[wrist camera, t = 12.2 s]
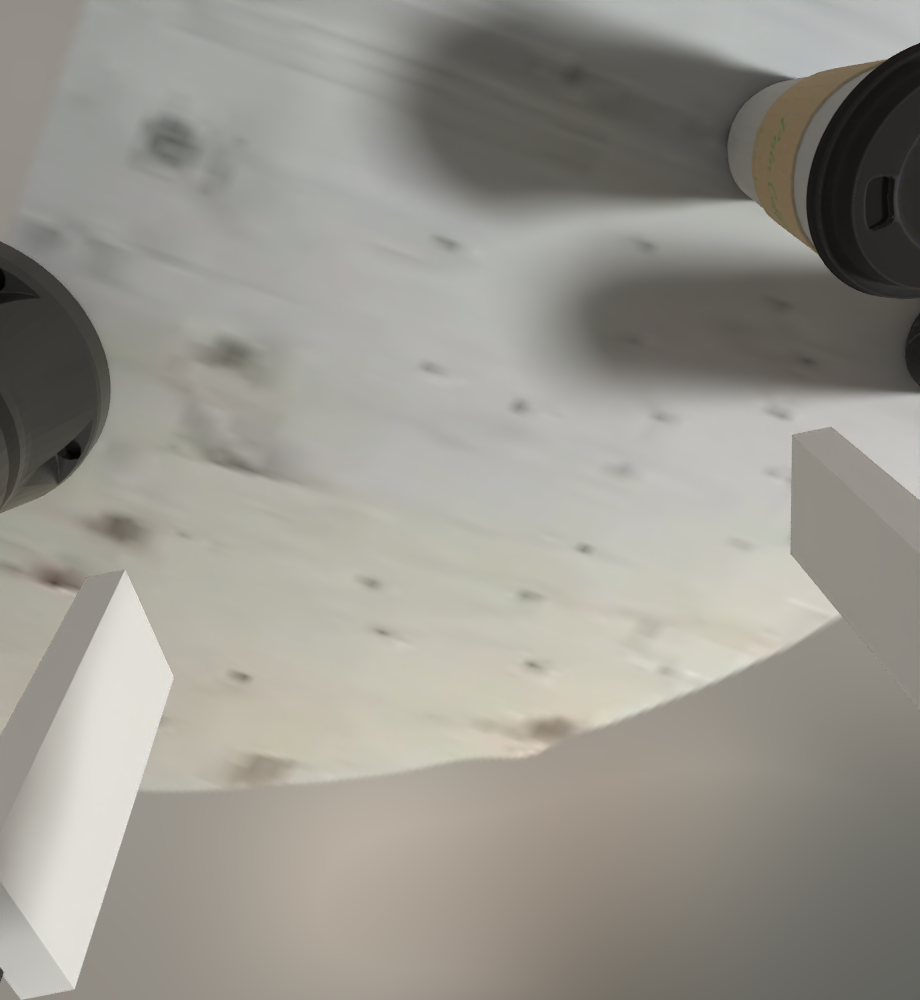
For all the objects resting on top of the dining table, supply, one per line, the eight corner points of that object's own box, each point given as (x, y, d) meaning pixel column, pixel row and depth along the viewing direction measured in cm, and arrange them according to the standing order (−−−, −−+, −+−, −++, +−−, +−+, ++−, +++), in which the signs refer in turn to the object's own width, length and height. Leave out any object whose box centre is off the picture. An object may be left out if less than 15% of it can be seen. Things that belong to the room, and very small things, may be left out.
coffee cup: (658, 133, 43) (783, 172, 30) (816, -8, 41) (1027, -34, 27) (753, 271, 47) (901, 358, 34) (903, 149, 44) (1124, 192, 31)
